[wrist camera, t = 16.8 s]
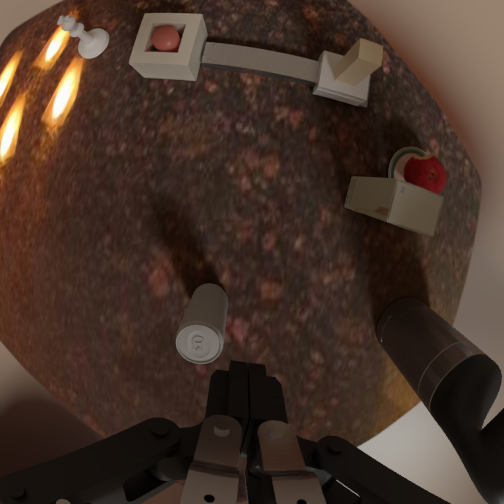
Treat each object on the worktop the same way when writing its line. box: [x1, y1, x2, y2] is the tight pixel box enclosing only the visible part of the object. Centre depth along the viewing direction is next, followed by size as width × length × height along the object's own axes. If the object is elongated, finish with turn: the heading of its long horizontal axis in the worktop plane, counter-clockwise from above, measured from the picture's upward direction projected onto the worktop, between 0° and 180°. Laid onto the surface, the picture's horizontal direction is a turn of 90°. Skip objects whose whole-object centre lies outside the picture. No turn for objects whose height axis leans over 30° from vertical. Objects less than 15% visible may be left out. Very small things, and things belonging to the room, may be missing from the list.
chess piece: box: [57, 15, 109, 59], centre depth 27 cm, size 5×5×10 cm
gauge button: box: [152, 26, 181, 53], centre depth 29 cm, size 3×3×5 cm
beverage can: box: [176, 283, 228, 364], centre depth 35 cm, size 5×5×12 cm
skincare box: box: [344, 176, 444, 236], centre depth 32 cm, size 6×4×12 cm
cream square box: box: [129, 13, 208, 81], centre depth 30 cm, size 7×7×6 cm
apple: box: [388, 147, 446, 194], centre depth 34 cm, size 8×8×6 cm
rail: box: [201, 42, 371, 109], centre depth 33 cm, size 21×5×2 cm, turn 80°
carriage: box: [312, 38, 383, 106], centre depth 28 cm, size 6×5×11 cm
